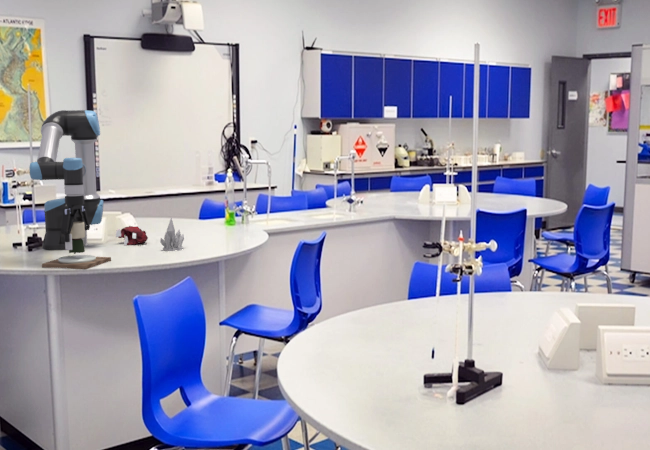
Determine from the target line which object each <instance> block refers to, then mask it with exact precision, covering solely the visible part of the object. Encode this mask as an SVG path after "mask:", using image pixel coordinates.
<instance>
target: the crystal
mask: <svg viewBox="0 0 650 450" xmlns="http://www.w3.org/2000/svg"><path fill="white" fill-rule="evenodd" d="M168 222H169V223H168V225H167V228H166V231H165V233H164V237H163V238H164V239H163V238H162V237H160V240H159V241H160V244H161V245H162V246H163V247H162V249H163V250H162V251H166V250H167V252H168V251H169V252H176V251H175V250H177V251H182V249H183V250H184V249H185V248H184V247H183V242H184V241H185V235H184V233H183V234H181V231H180V229H178V230H177V232H176V228H175V226H174V223H173V219H172V217H170V220H169V221H168Z"/></svg>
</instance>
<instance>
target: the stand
mask: <svg viewBox="0 0 650 450" xmlns="http://www.w3.org/2000/svg"><path fill="white" fill-rule="evenodd" d="M95 257H96V260H95V261H92V262H87V263H76V264H67V263H60V262H58V259H59V258H56V259H54V260H53V259H52V260H50V261H47V262H44V263H41V268H46V269H47V268H51V269H75V270H88V269H91V268H95V267H98V266H99V265H102V264H105V263H109V262H111V261H112V257H111V256H95ZM108 261H109V262H108Z"/></svg>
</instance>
